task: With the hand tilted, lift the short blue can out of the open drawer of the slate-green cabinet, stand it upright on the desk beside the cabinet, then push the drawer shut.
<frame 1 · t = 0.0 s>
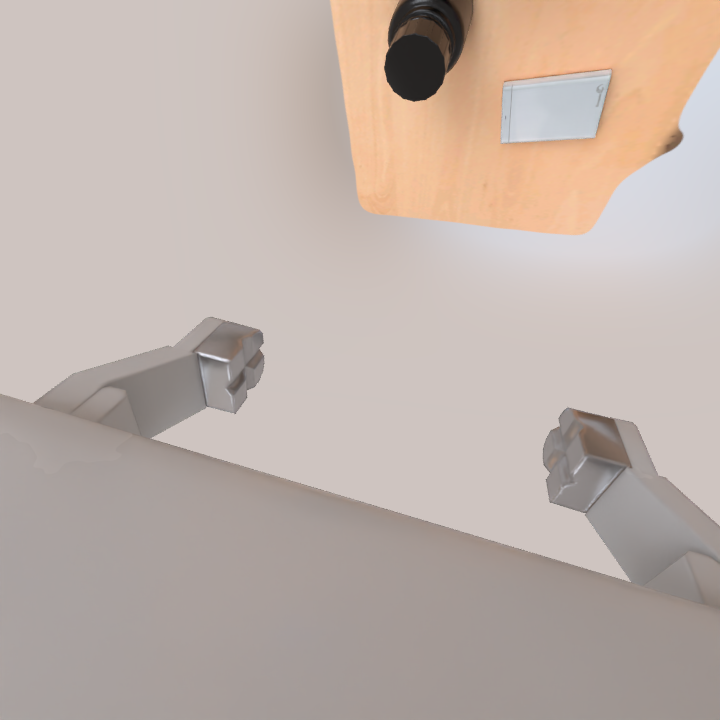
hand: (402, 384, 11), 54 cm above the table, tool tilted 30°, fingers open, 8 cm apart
hard drive: (550, 105, 53), on the table
ink bottle: (436, 10, 47), on the table
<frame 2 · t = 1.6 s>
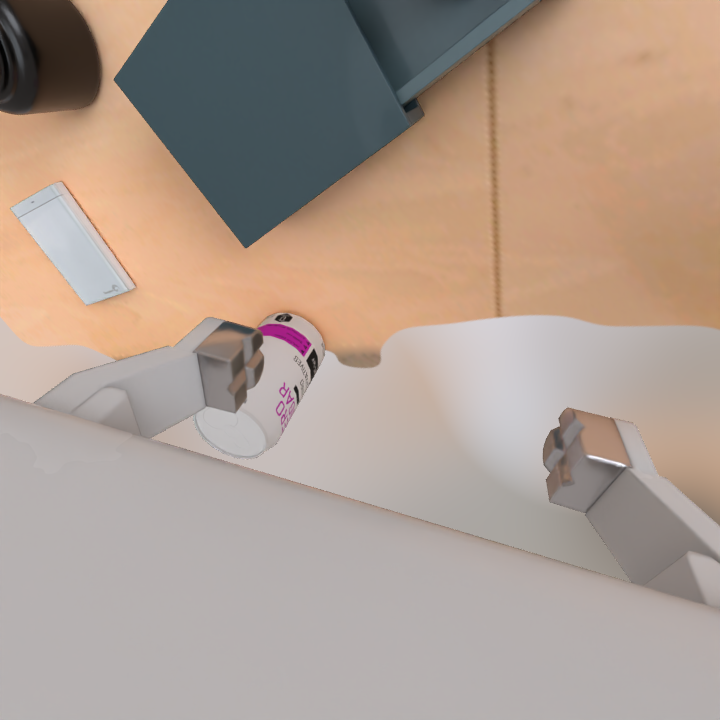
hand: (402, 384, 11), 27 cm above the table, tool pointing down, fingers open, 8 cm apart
hard drive: (82, 246, 46), on the table
supplement can: (294, 339, 46), on the table
ink bottle: (58, 47, 34), on the table
cabinet: (297, 95, 31), on the table
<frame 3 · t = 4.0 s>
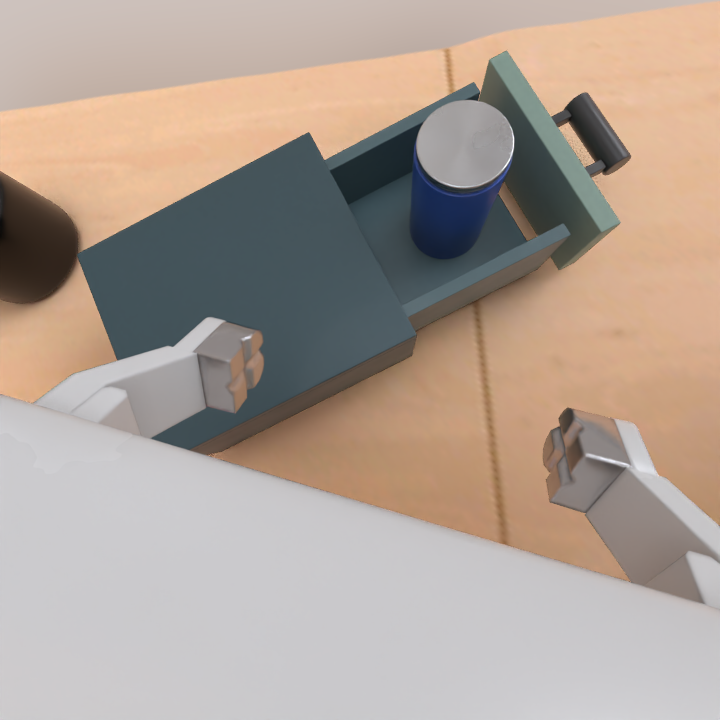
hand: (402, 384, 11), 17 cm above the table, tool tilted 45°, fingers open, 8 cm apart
drawer: (471, 200, 25), point 4 cm above the table, slide at 11.5 cm, touching can
ink bottle: (34, 253, 33), on the table
cabinet: (277, 322, 29), on the table
can: (444, 226, 27), point 2 cm above the table, touching drawer
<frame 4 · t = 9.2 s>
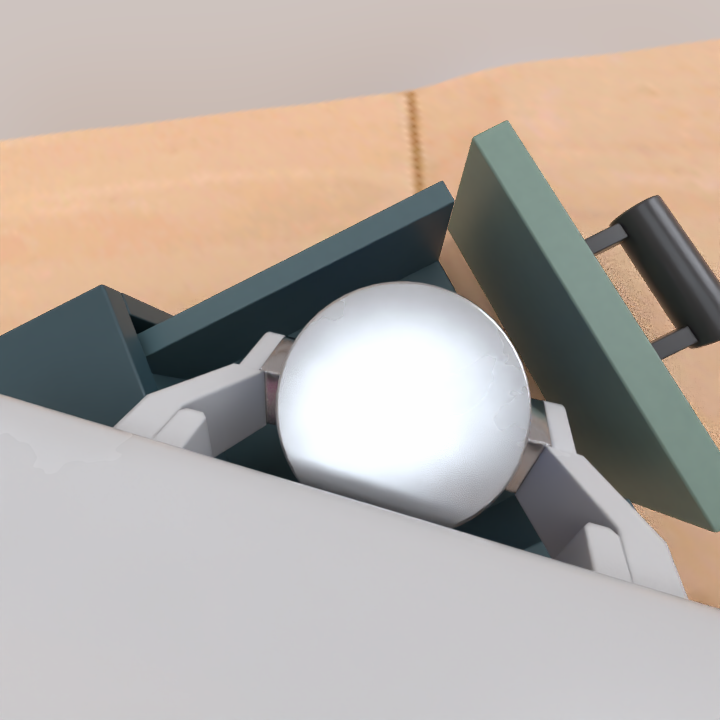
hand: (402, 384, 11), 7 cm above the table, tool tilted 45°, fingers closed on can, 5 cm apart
drawer: (441, 387, 14), point 4 cm above the table, slide at 11.5 cm, touching can
cabinet: (123, 546, 18), on the table
can: (397, 410, 15), point 2 cm above the table, touching drawer, gripper
when the fingers open (5 cm above the table, at t = 18.8 s): can stays where it is, on the table.
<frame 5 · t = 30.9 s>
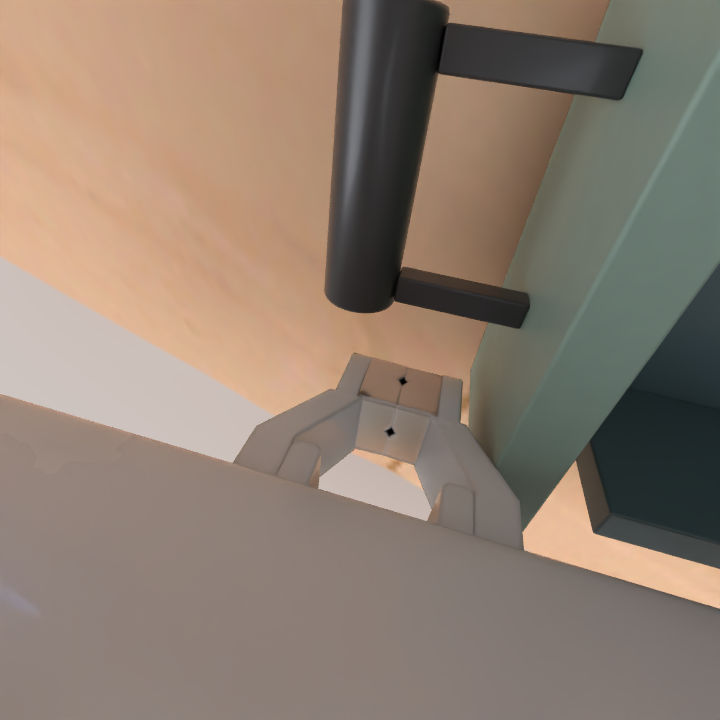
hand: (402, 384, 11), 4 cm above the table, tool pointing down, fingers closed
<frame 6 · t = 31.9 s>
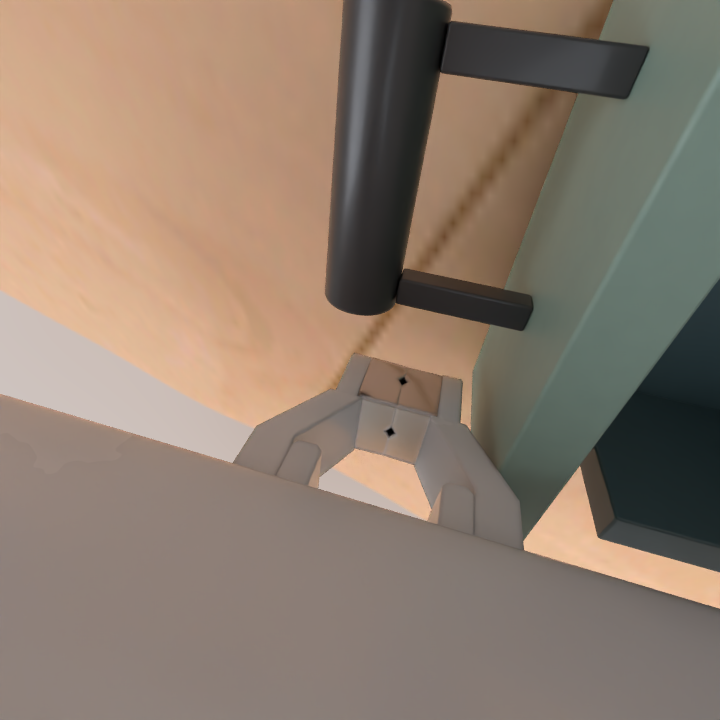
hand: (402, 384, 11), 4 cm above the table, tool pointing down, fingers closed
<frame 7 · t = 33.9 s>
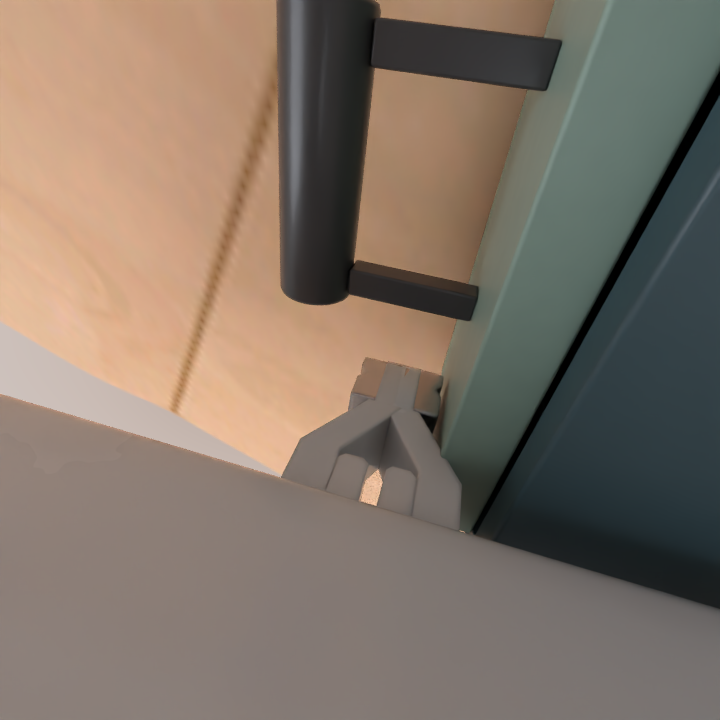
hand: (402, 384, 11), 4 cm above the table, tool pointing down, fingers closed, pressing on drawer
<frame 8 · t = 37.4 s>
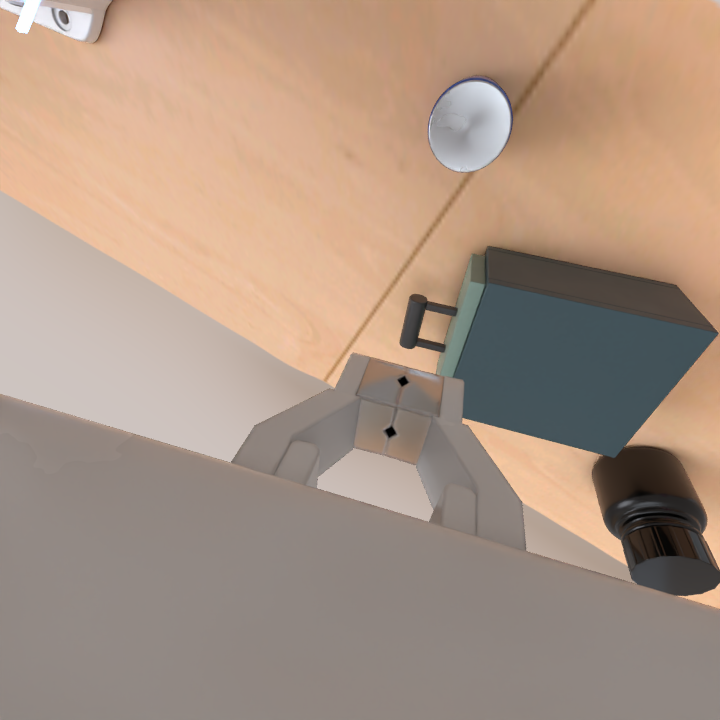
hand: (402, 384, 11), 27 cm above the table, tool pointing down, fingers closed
drawer: (507, 342, 35), point 4 cm above the table, slide at 0.0 cm, touching cabinet
ink bottle: (634, 469, 45), on the table
cabinet: (546, 330, 38), on the table
can: (472, 115, 29), on the table
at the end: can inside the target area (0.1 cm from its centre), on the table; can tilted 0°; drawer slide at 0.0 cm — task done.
